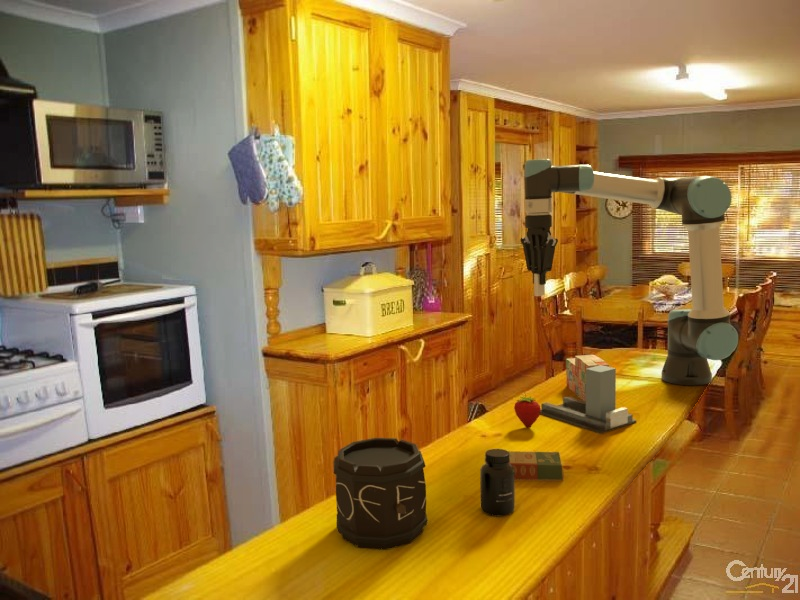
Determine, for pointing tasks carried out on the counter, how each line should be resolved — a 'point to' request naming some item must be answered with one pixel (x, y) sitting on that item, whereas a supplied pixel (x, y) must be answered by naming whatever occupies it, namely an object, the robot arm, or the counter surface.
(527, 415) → the strawberry
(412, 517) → the wooden barrel
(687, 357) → the robot arm
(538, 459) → the carton
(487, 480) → the supplement bottle
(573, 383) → the stack of blocks
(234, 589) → the counter surface
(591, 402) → the grey rectangular block
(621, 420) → the chute
